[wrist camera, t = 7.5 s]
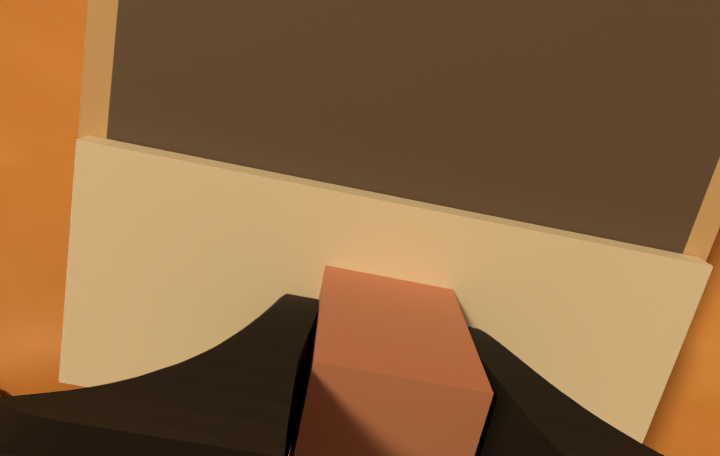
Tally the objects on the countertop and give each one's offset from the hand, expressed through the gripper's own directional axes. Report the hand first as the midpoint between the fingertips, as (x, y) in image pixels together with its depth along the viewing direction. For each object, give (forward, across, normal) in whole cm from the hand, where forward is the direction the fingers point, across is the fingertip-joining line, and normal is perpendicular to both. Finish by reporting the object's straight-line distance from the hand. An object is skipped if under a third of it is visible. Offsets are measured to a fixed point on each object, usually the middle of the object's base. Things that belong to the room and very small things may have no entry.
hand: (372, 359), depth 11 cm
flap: (+1, 0, 0) cm, 1 cm away
